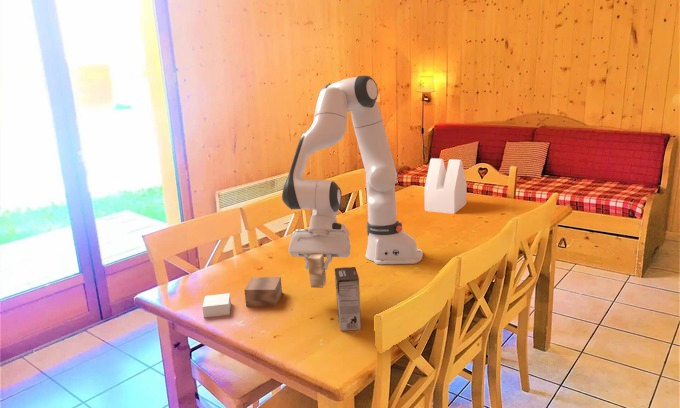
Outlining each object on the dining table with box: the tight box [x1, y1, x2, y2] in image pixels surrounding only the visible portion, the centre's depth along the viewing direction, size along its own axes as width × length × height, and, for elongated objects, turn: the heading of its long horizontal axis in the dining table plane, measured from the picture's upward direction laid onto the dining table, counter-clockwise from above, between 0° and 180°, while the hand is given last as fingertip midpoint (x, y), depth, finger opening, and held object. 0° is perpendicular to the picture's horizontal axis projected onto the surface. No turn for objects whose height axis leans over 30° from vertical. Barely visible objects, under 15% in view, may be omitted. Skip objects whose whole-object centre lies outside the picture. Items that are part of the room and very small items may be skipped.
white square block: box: [201, 292, 232, 318], centre depth 168 cm, size 8×8×4 cm
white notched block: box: [423, 157, 468, 215], centre depth 264 cm, size 19×15×25 cm
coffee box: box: [334, 266, 362, 332], centre depth 153 cm, size 9×6×16 cm
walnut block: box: [244, 276, 283, 307], centre depth 173 cm, size 10×10×6 cm
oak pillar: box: [308, 254, 327, 289], centre depth 166 cm, size 4×4×10 cm
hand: (316, 268), depth 165 cm, fingers closed on oak pillar, 4 cm apart
